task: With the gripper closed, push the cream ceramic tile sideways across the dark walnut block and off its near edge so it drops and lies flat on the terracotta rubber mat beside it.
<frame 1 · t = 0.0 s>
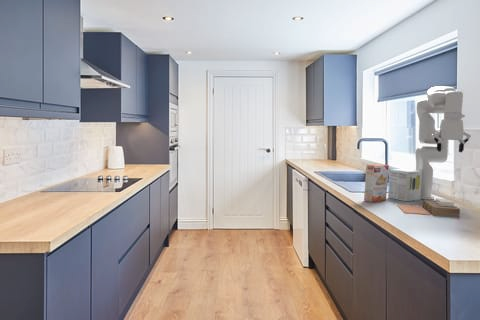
hand: (449, 151, 191), 31 cm above the worktop, tool pointing down, fingers open, 9 cm apart
rubber mat: (412, 209, 202), on the worktop
cracker box: (375, 201, 225), on the worktop
supplement box: (403, 199, 234), on the worktop
walnut block: (439, 211, 199), on the worktop
ceramic tile: (444, 204, 198), point 4 cm above the worktop, touching walnut block
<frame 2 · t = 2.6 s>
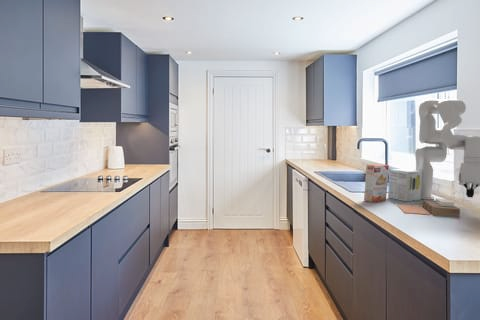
hand: (469, 196, 195), 9 cm above the worktop, tool pointing down, fingers closed
nothing on the worktop moved.
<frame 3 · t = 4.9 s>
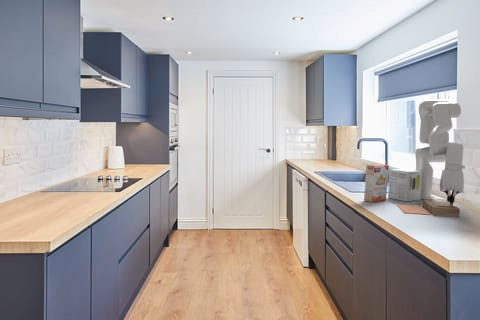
hand: (450, 203, 198), 5 cm above the worktop, tool pointing down, fingers closed
ceramic tile: (440, 204, 199), point 4 cm above the worktop, touching gripper, walnut block
everything else where it was.
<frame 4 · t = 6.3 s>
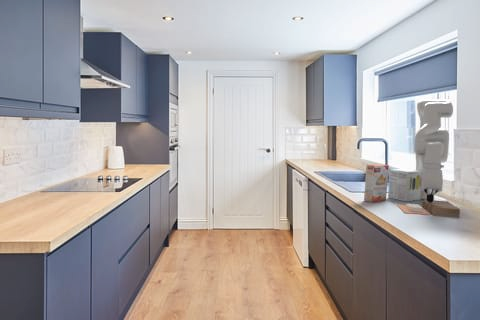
hand: (429, 202, 200), 5 cm above the worktop, tool pointing down, fingers closed
ceramic tile: (414, 205, 201), point 2 cm above the worktop, tilted 180°, touching rubber mat
everything else where it was.
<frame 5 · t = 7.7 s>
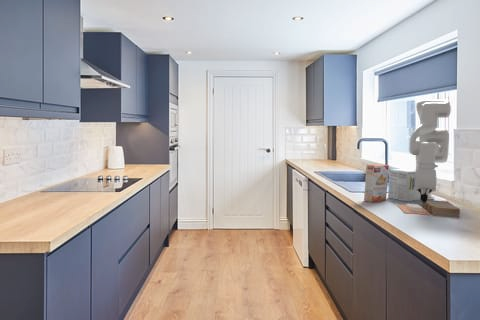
hand: (423, 201, 200), 5 cm above the worktop, tool pointing down, fingers closed
nothing on the worktop moved.
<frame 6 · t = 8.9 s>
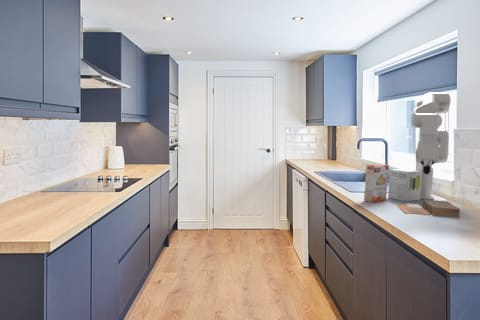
hand: (426, 173, 199), 19 cm above the worktop, tool pointing down, fingers closed
nothing on the worktop moved.
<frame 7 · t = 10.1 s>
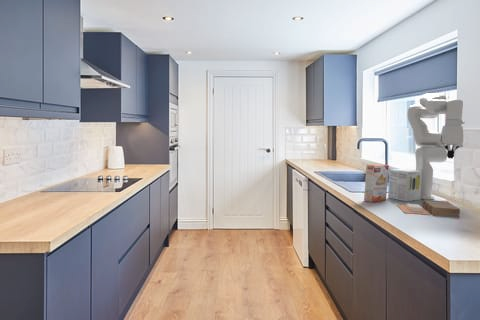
hand: (450, 158, 205), 27 cm above the worktop, tool pointing down, fingers closed
nothing on the worktop moved.
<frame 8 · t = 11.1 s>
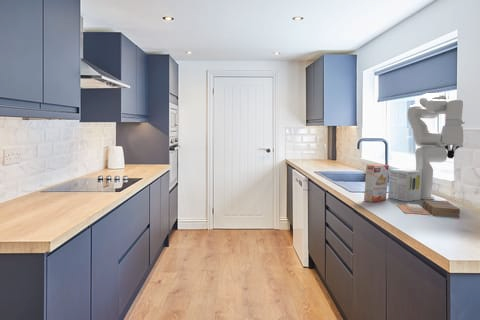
hand: (450, 158, 205), 27 cm above the worktop, tool pointing down, fingers closed
nothing on the worktop moved.
at the end: ceramic tile inside the target area on the rubber mat (1.0 cm from its centre), point 2.4 cm above the rubber mat's base; ceramic tile touching rubber mat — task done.
